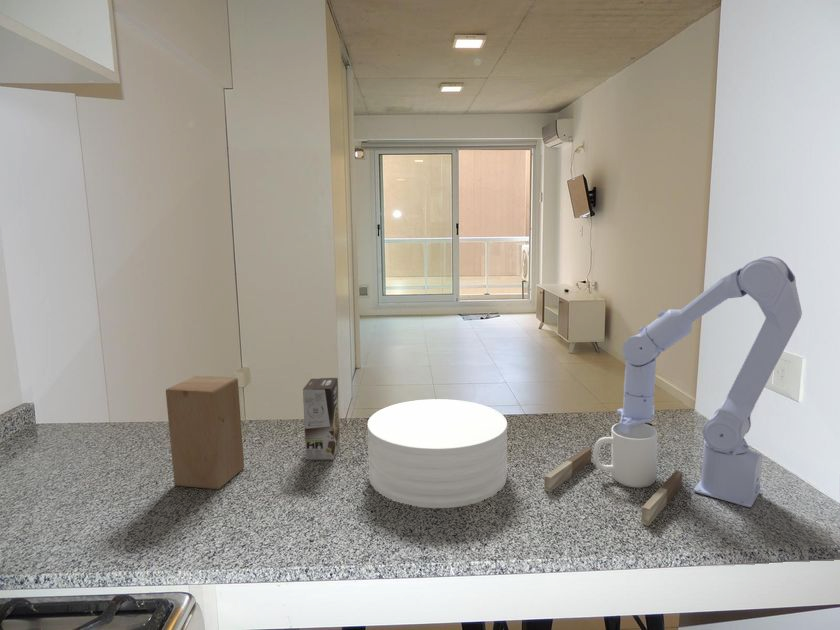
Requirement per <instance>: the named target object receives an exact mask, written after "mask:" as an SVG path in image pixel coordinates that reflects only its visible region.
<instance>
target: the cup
mask: <svg viewBox="0 0 840 630" xmlns="http://www.w3.org/2000/svg"><path fill="white" fill-rule="evenodd" d="M618 425H619V422H616V423H615V424H614V425H612V426H611V436H605V437H603V436H602V437H600V438H598V440H596V442H595V443H594V447H593V450H592V451H593V452H592V456H593V459H592V460H593V463H594V465H595V467H597V469H599V470H600V471H603V472H608V473H610V472H611V475H612V477H613V479H614V480H615V481H616V482H617V483H618V482H619V483H618V484H620V485H622V486H625V487H630V488H638V489H639V488H641V489H642V488H646V487H650V486H652V485H653V484H654V483H655V482H656V480H657V472H658V471H657V470H658V469H657V466H658V462H657V460H658V430H657V428H656V427H654V426H653V427H652V426H650V425H648V424H645V423H643V424H639V425H635V426H634V427H632V428H631V429H630V433H629V434H626V433H622V432H618ZM605 444H608V445H609V444H610V445H611V464H603V463H601V461H600V455H599V454H600V449H601V447H602V445H605Z"/></svg>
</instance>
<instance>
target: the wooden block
mask: <svg viewBox="0 0 840 630" xmlns="http://www.w3.org/2000/svg"><path fill="white" fill-rule="evenodd" d="M165 395H166V396H165V397H166V399H165V400H166V410H167V421H168V429H169V430H168V431H169V442H170V451H171V452H170V453H171V461H172V472H173V482H174V485H175V486H178V487H189V488H201V489H208V490H209V489H211V490H220V489H221V488H223V487H224V486H225V485H226V484H227V483H228V482H230V481H231V480H232V479H233V478H234V477H236V476H237V474H240V472H241V471H242V470H244V468H245V458H244V457H245V456H244V445H243V443H244V442H243V433H242V419H241V418H242V416H241V405H240V404H241V403H240V402H241V401H240V390H239V379H238V377H232V376H231V377H229V376H213V375H211V376H209V375H194V376H192V377H190V378H188V379H186V380H184V381H182V382H178V383H177V384H175V385H173V386H170V387H168V388H166V389H165Z"/></svg>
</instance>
